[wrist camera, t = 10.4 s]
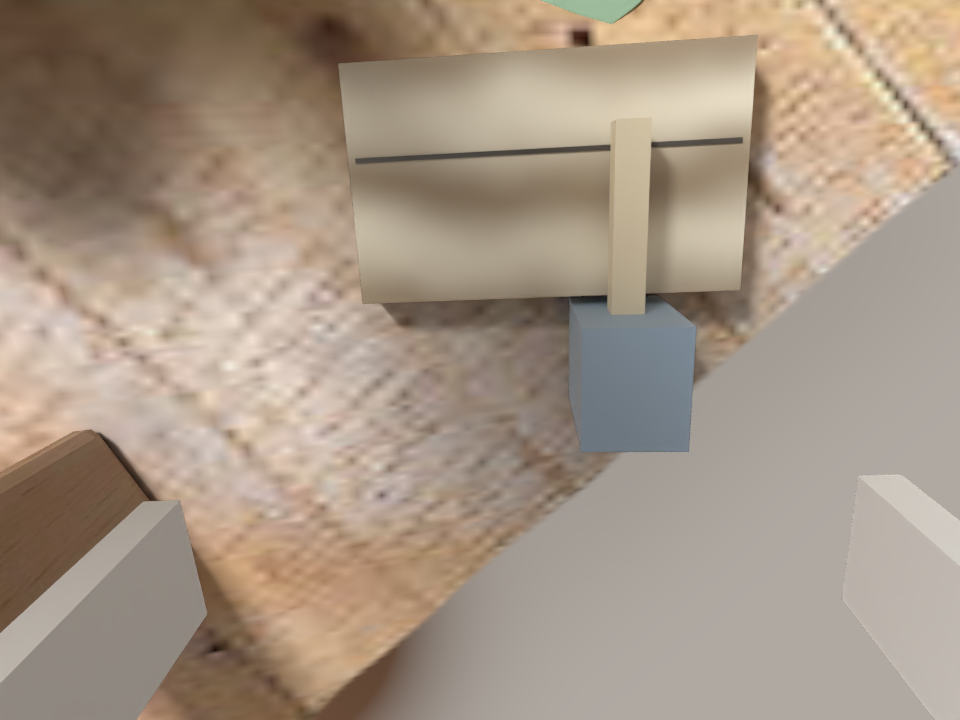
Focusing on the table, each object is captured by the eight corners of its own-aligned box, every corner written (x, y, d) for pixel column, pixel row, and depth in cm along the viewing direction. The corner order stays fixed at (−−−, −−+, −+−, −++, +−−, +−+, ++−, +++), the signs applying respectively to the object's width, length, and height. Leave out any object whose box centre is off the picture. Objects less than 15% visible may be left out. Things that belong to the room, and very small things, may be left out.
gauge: (569, 130, 33) (584, 113, 25) (665, 126, 32) (709, 107, 25) (568, 396, 37) (581, 452, 29) (653, 394, 36) (688, 451, 29)
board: (351, 72, 32) (337, 63, 30) (739, 46, 31) (758, 34, 28) (373, 295, 36) (362, 304, 33) (725, 282, 34) (740, 290, 32)
